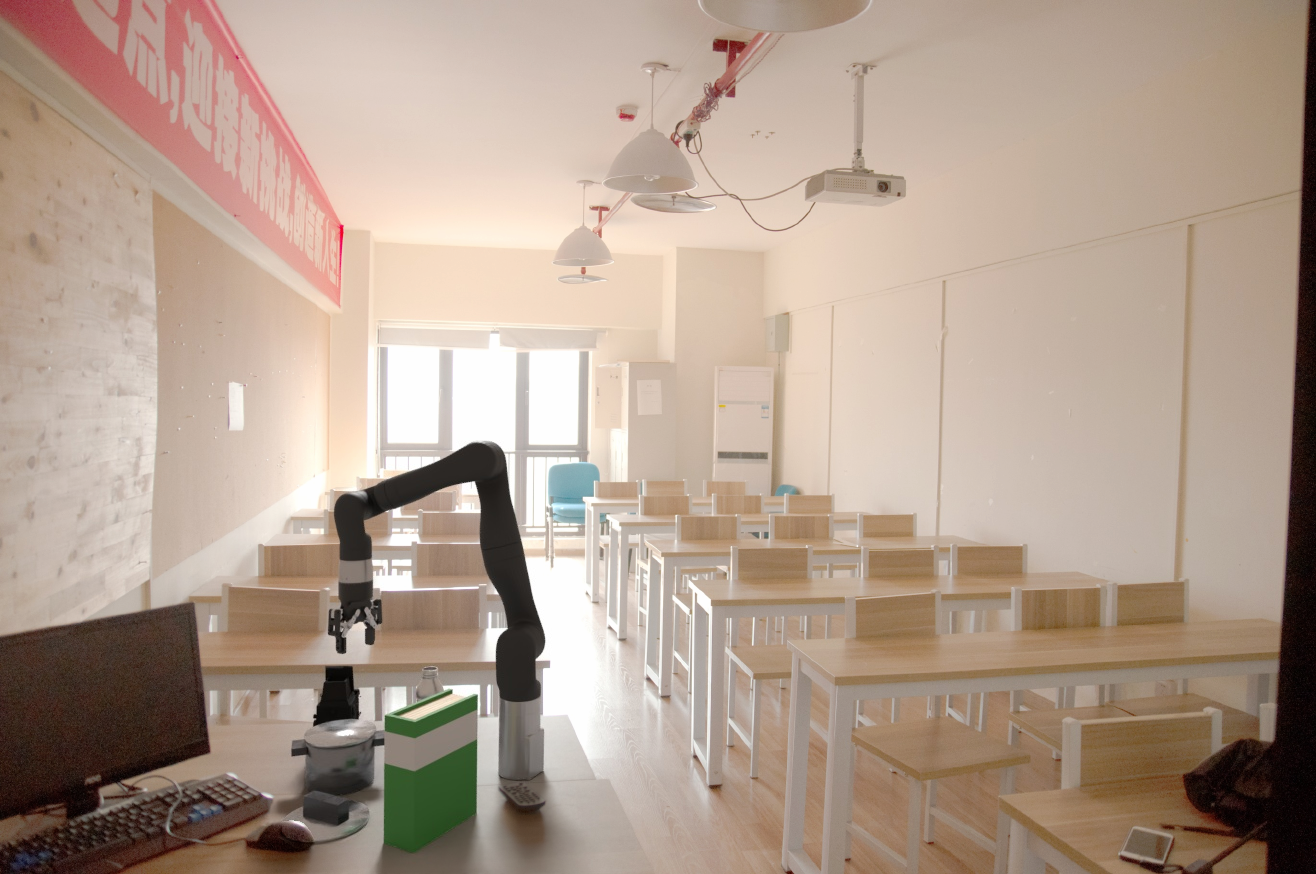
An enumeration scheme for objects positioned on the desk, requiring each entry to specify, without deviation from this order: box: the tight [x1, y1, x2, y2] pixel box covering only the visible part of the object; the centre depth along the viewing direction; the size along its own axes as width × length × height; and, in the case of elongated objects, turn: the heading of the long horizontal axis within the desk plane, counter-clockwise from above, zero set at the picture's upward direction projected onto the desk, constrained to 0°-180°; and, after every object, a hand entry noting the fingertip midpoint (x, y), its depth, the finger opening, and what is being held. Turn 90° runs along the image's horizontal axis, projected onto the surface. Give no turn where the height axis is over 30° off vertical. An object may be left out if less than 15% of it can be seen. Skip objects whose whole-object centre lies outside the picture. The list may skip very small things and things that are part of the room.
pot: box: [290, 719, 385, 796], centre depth 182 cm, size 19×15×11 cm
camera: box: [312, 665, 362, 727], centre depth 200 cm, size 10×14×20 cm
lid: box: [282, 790, 370, 843], centre depth 164 cm, size 16×16×5 cm
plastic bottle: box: [414, 666, 445, 702], centre depth 198 cm, size 6×7×20 cm
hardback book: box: [383, 688, 479, 854], centre depth 162 cm, size 18×7×24 cm, turn 153°
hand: (355, 648), depth 192 cm, fingers open, 8 cm apart
